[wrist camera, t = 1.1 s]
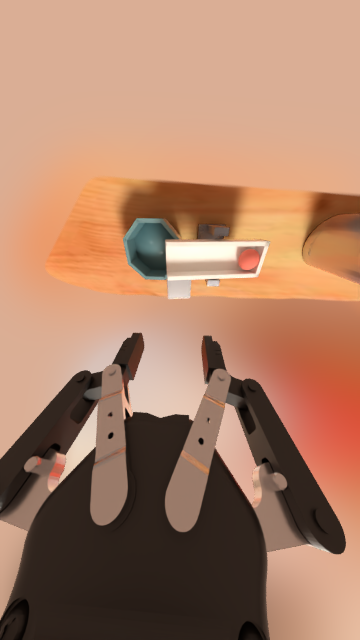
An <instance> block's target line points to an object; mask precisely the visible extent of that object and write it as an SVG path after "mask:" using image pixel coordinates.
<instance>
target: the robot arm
mask: <svg viewBox="0 0 360 640" xmlns="http://www.w3.org/2000/svg"><path fill="white" fill-rule="evenodd" d="M302 254H303V259H304V261H305V262H306V263H307V264H308V265H310V266H313V267H316V268H318V269H321V270H323V271H326V272H329V273H331V274H334V275H337V276H339V277H342V278H345V279H347V280H350V281H352V282H355V283H358V284H360V214H341V215H336V216H334V217H331V218H329V219H328V220H326V221H324V222H323V223H321V224H320V225H319V226H318V227H317V228H316V229H315V230H314V231H313V232H312V233H311V234H310V236H309V237H308V239H307V240H306V242H305V245H304V247H303V252H302ZM143 350H144V341H143V336H142V333H133V334H132V336H131V338H127V339H126V340H125V341H124V342H123V344H122V346H121V348H120V350H119V352H118V354H117V355H116V357H115V359H114V361H113V363H112V365H109V366H108V367H106V368H105V369H104V371H101V372H97V373H93V374H91V373H90V371H86V370H85V371H81V372H79V373H77V374H76V375H74V376H73V377H72V379H71V380H70V381H69V382H68V383H67V384H66V386H65V387H64V388H63V389H62V390H61V391H60V392H59V393H58V395H57V396H56V397H55V398H54V399H53V400H52V401H51V402H50V404H49V405H48V406H47V407H46V408H45V409H44V410H43V412H42V413H41V414H40V415H39V416H38V417H37V418H36V419H35V421H34V422H33V423H32V424H31V425H30V426H29V427H28V429H27V430H26V431H25V432H24V433H23V434H22V436H20V438H19V439H18V440H17V441H16V442H15V443H14V445H13V446H12V447H11V448H10V449H9V450H8V451H7V452H6V454H5V455H4V456H3V457H2V458H1V459H0V520H2V521H4V522H7V523H9V524H12V525H14V526H17V527H19V528H22V529H24V530H27V531H28V534H27V537H26V540H25V544H24V549H23V554H22V558H21V563H20V567H19V571H18V574H17V578H16V581H15V584H14V587H13V590H12V593H11V596H10V599H9V601H8V604H7V606H6V609H5V611H4V613H3V616H2V617H1V620H0V640H270V637H269V630H268V621H267V607H266V579H267V552H270V551H275V550H280V549H285V548H290V547H296V546H301V545H308V546H311V547H314V548H317V549H320V550H324V551H327V552H330V553H333V554H341V553H343V552H344V550H345V546H346V541H345V535H344V532H343V529H342V526H341V524H340V522H339V521H338V518H337V516H336V515H335V513H334V511H333V510H332V508H331V506H330V505H329V503H328V501H327V499H326V497H325V496H324V494H323V492H322V491H321V489H320V487H319V485H318V484H317V482H316V480H315V479H314V477H313V475H312V473H311V472H310V470H309V468H308V466H307V465H306V463H305V461H304V460H303V458H302V456H301V455H300V453H299V451H298V449H297V447H296V446H295V444H294V442H293V441H292V439H291V437H290V435H289V434H288V432H287V430H286V428H285V427H284V425H283V423H282V422H281V420H280V418H279V416H278V415H277V413H276V411H275V410H274V408H273V406H272V404H271V403H270V401H269V399H268V397H267V396H266V394H265V392H264V391H263V389H262V387H261V385H260V384H259V383H258V382H256V381H255V380H253V379H245V380H244V381H242V380H239V379H236V378H234V377H232V376H231V375H229V373H228V372H227V370H226V368H225V364H224V360H223V356H222V352H221V348H220V345H219V344H218V343H217V341H216V342H215V341H212V337H211V336H203V341H202V361H203V371H204V381H205V384H208V387H207V390H206V392H205V394H204V396H203V398H202V401H201V404H200V406H199V409H198V411H197V414H196V416H195V419H194V421H192V420H190V419H189V415H177V414H175V415H171V416H167V417H163V418H159V417H156V416H154V415H151V414H148V413H141V412H133V413H132V409H131V404H130V396H129V388H128V382H129V380H134V377H135V374H136V371H137V368H138V365H139V362H140V359H141V356H142V353H143ZM97 403H98V415H97V436H96V447H95V448H94V449H93V450H92V451H91V452H90V453H89V454H88V455H87V456H86V457H85V458H84V459H83V460H82V461H81V462H80V464H79V465H77V467H76V468H75V469H74V470H73V471H72V472H71V473H70V474H69V475H68V476H67V477H66V478H65V479H64V480H63V481H62V482H61V483H60V484H59V478H60V476H61V474H62V473H63V471H64V467H65V463H66V457H65V455H66V453H67V452H68V450H69V448H70V447H71V445H72V444H73V442H74V440H75V439H76V437H77V436H78V434H79V432H80V431H81V429H82V428H83V426H84V424H85V423H86V421H87V420H88V418H89V416H90V415H91V413H92V411H93V410H94V408H95V407H96V405H97ZM225 403H228V404H230V405H233V406H234V407H235V409H236V412H237V415H238V417H239V420H240V422H241V425H242V428H243V431H244V433H245V436H246V438H247V441H248V444H249V447H250V449H251V452H252V455H253V457H254V460H255V463H256V465H257V467H256V468H255V469H254V470H253V473H252V481H253V485H254V490H255V497H254V501H253V504H252V505H251V504H250V502H249V500H248V499H247V497H246V496H245V494H244V493H243V491H242V489H241V488H240V486H239V485H238V483H237V482H236V480H235V479H234V477H233V475H232V474H231V472H230V471H229V469H228V467H227V466H226V465H225V463H224V461H223V460H222V458H221V457H220V455H219V453H218V452H217V450H216V449H215V445H216V441H217V436H218V433H219V429H220V425H221V420H222V417H223V413H224V408H225ZM58 484H59V485H58Z"/></svg>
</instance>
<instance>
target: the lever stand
mask: <svg viewBox="0 0 360 640" xmlns="http://www.w3.org/2000/svg"><path fill="white" fill-rule="evenodd" d="M225 226H226V225H225V224H199V229H198V239H223V238H224V236H228V234H229V229H230V228H229V227H225ZM205 281H206V284H207V286H219V282H220V280H219V279H205Z"/></svg>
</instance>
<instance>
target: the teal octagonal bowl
mask: <svg viewBox="0 0 360 640" xmlns="http://www.w3.org/2000/svg"><path fill="white" fill-rule="evenodd" d="M171 239H181V236H180V235H179V234H178V233H177V231H176V230H175V228H174V227H173V226H172V225H171V224H170V223H169V222H168V221H167V219H158V218H136V220H135V221H134V223H133V225H132V226H131V228H130V229H129V231H128V232H127V234H126V235H125V237H124V238H123V242H124V246H125V251H126V256H127V261H128V264H129V265H130V266H131V267H132V268H133V269H134V270H135V271H137V272H138V273H139V274H140V275H141V276H142V277H143V278H145V279H154V280H166V279H167V267H166V246H165V240H171Z"/></svg>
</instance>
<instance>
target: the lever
mask: <svg viewBox="0 0 360 640" xmlns="http://www.w3.org/2000/svg"><path fill="white" fill-rule="evenodd" d="M269 244H270V241H266V240H261V239H171V240H165V246H166V267H167V288H168V299H179V298H190V290H191V280H194V279H221V278H247V277H258V275H259V272H260V269H261V267H262V264H263V261H264V258H265V255H266V252H267V249H268V247H269ZM248 249H254V250H256V251H257V252H258V253H259V257H260V259H259V262H258V264H257V265H256V266H255V267H254V268H252V269H250V270H244V269H242V268H241V267H240V266H239V263H238V259H239V256H240V255H241V253H242V252H244V251H245V250H248Z"/></svg>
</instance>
